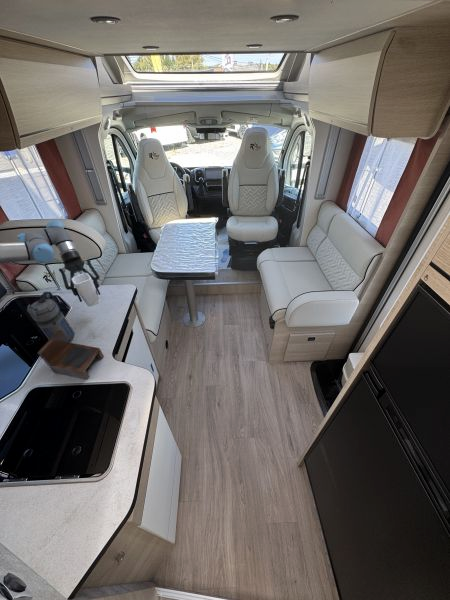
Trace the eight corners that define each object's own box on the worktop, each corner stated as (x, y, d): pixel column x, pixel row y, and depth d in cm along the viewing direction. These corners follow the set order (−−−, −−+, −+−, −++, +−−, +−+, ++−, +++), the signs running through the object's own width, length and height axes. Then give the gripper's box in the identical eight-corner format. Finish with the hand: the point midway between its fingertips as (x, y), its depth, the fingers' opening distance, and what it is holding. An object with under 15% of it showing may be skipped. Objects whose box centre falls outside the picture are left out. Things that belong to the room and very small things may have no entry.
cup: (83, 302, 125) (70, 278, 115) (97, 295, 129) (86, 271, 119) (88, 309, 121) (75, 285, 111) (103, 302, 124) (91, 278, 115)
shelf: (54, 373, 107) (37, 352, 98) (73, 350, 116) (58, 330, 106) (87, 379, 104) (72, 359, 95) (104, 356, 113) (92, 335, 103)
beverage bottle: (81, 327, 126) (58, 288, 110) (68, 348, 116) (40, 309, 100) (61, 327, 127) (35, 288, 110) (47, 348, 117) (15, 309, 100)
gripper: (92, 249, 126) (112, 290, 127) (46, 263, 117) (68, 307, 118) (91, 244, 119) (112, 287, 120) (42, 258, 111) (65, 305, 111)
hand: (90, 297), depth 119 cm, fingers closed on cup, 8 cm apart
